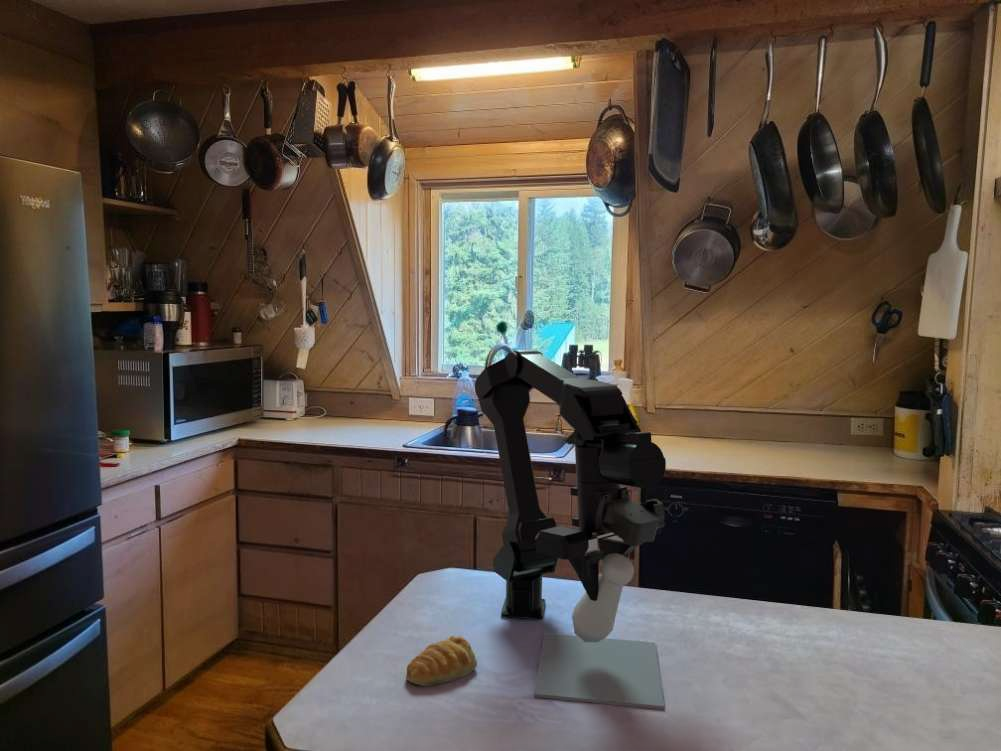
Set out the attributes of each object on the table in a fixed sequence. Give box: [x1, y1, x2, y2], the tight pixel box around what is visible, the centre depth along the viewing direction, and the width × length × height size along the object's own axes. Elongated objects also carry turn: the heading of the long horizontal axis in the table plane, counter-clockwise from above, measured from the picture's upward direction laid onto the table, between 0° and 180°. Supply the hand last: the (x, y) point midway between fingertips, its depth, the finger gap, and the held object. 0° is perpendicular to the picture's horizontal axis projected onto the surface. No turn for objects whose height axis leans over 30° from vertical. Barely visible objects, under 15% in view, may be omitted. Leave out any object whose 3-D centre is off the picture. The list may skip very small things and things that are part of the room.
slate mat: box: [533, 632, 665, 710], centre depth 96 cm, size 16×16×1 cm
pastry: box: [405, 635, 478, 687], centre depth 95 cm, size 9×7×4 cm
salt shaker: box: [571, 553, 635, 643], centre depth 95 cm, size 6×6×13 cm
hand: (603, 596), depth 95 cm, fingers open, 3 cm apart
